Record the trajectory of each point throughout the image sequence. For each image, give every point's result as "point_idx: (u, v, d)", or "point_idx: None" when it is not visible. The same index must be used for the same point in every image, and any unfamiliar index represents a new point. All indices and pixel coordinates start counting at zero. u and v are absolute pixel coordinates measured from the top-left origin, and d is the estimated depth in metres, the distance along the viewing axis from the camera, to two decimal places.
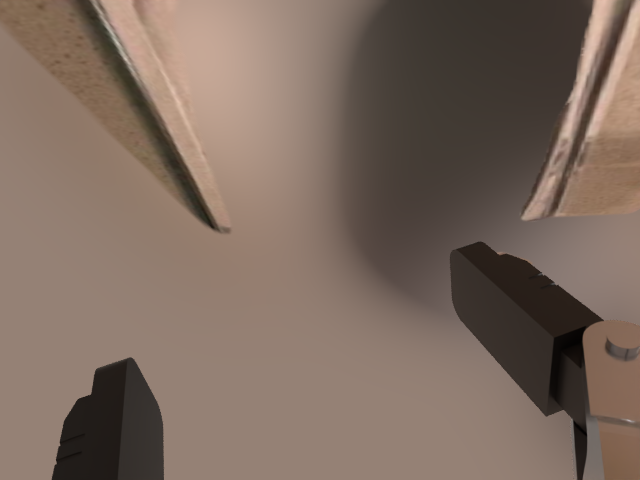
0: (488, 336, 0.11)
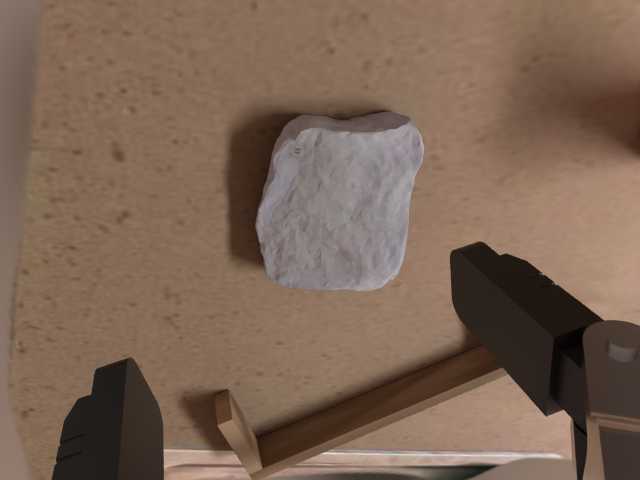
0: (488, 336, 0.11)
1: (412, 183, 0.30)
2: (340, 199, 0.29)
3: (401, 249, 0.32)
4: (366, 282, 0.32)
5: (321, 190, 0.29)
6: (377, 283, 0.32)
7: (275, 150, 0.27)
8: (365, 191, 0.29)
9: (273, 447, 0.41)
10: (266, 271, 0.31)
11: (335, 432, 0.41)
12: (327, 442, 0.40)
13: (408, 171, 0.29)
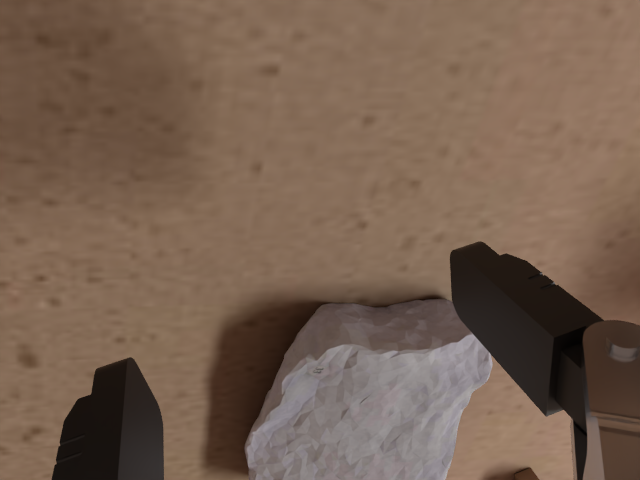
0: (488, 336, 0.11)
1: (467, 400, 0.22)
2: (371, 427, 0.20)
3: (442, 478, 0.23)
4: None
5: (346, 419, 0.20)
6: None
7: (286, 369, 0.19)
8: (405, 416, 0.21)
9: None
10: None
11: None
12: None
13: (466, 390, 0.21)
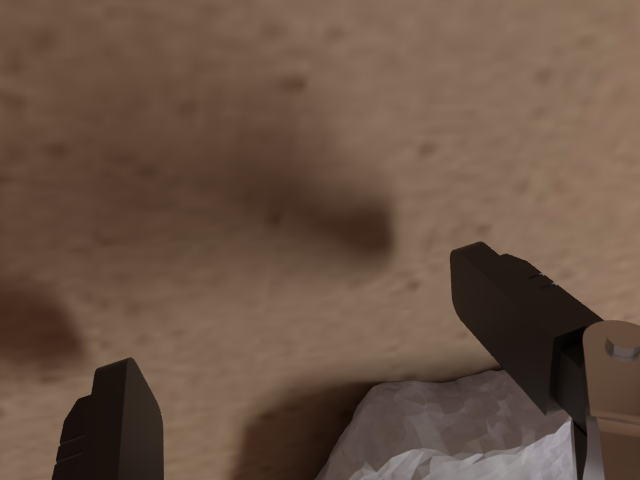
0: (488, 336, 0.11)
1: None
2: None
3: None
4: None
5: None
6: None
7: None
8: None
9: None
10: None
11: None
12: None
13: None
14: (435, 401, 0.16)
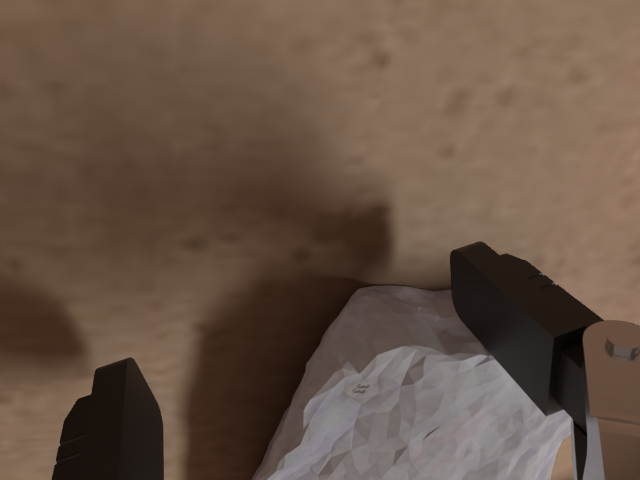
0: (488, 336, 0.11)
1: None
2: (437, 474, 0.13)
3: None
4: None
5: (401, 463, 0.13)
6: None
7: (310, 388, 0.12)
8: (487, 456, 0.14)
9: None
10: None
11: None
12: None
13: None
14: (430, 306, 0.13)
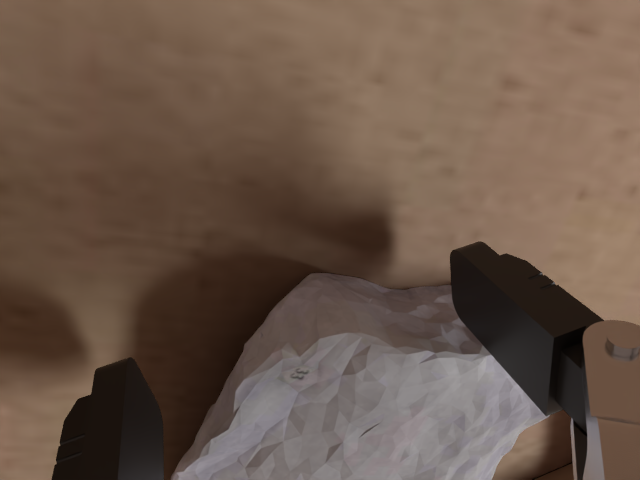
0: (488, 336, 0.11)
1: (512, 443, 0.15)
2: (371, 477, 0.13)
3: None
4: None
5: (334, 461, 0.12)
6: None
7: (245, 368, 0.11)
8: (425, 463, 0.13)
9: None
10: None
11: None
12: None
13: (517, 427, 0.14)
14: (382, 300, 0.13)
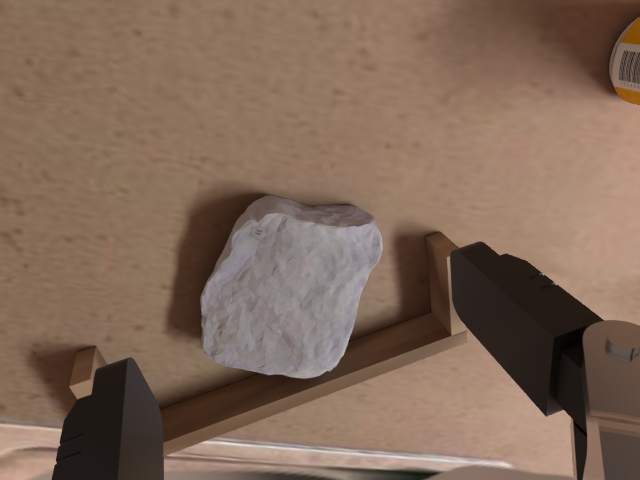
0: (488, 336, 0.11)
1: (365, 279, 0.30)
2: (293, 285, 0.29)
3: (344, 342, 0.31)
4: (304, 370, 0.31)
5: (275, 274, 0.28)
6: (315, 372, 0.32)
7: (236, 228, 0.27)
8: (319, 281, 0.29)
9: None
10: (203, 345, 0.30)
11: (234, 410, 0.33)
12: (223, 422, 0.32)
13: (364, 268, 0.30)
14: (298, 207, 0.29)
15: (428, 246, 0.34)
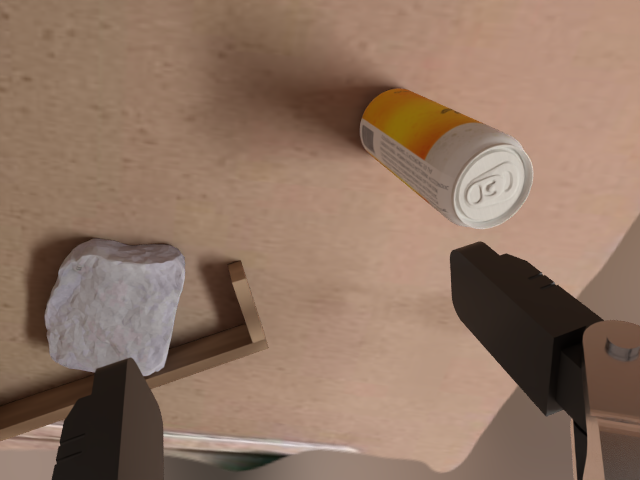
0: (488, 336, 0.11)
1: (176, 301, 0.40)
2: (112, 307, 0.38)
3: (164, 349, 0.40)
4: None
5: (96, 299, 0.37)
6: (143, 372, 0.41)
7: (61, 266, 0.36)
8: (134, 303, 0.38)
9: (10, 414, 0.41)
10: (49, 351, 0.39)
11: (71, 401, 0.41)
12: (61, 410, 0.41)
13: (171, 293, 0.39)
14: (117, 247, 0.38)
15: None
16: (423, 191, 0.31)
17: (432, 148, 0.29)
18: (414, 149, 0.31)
